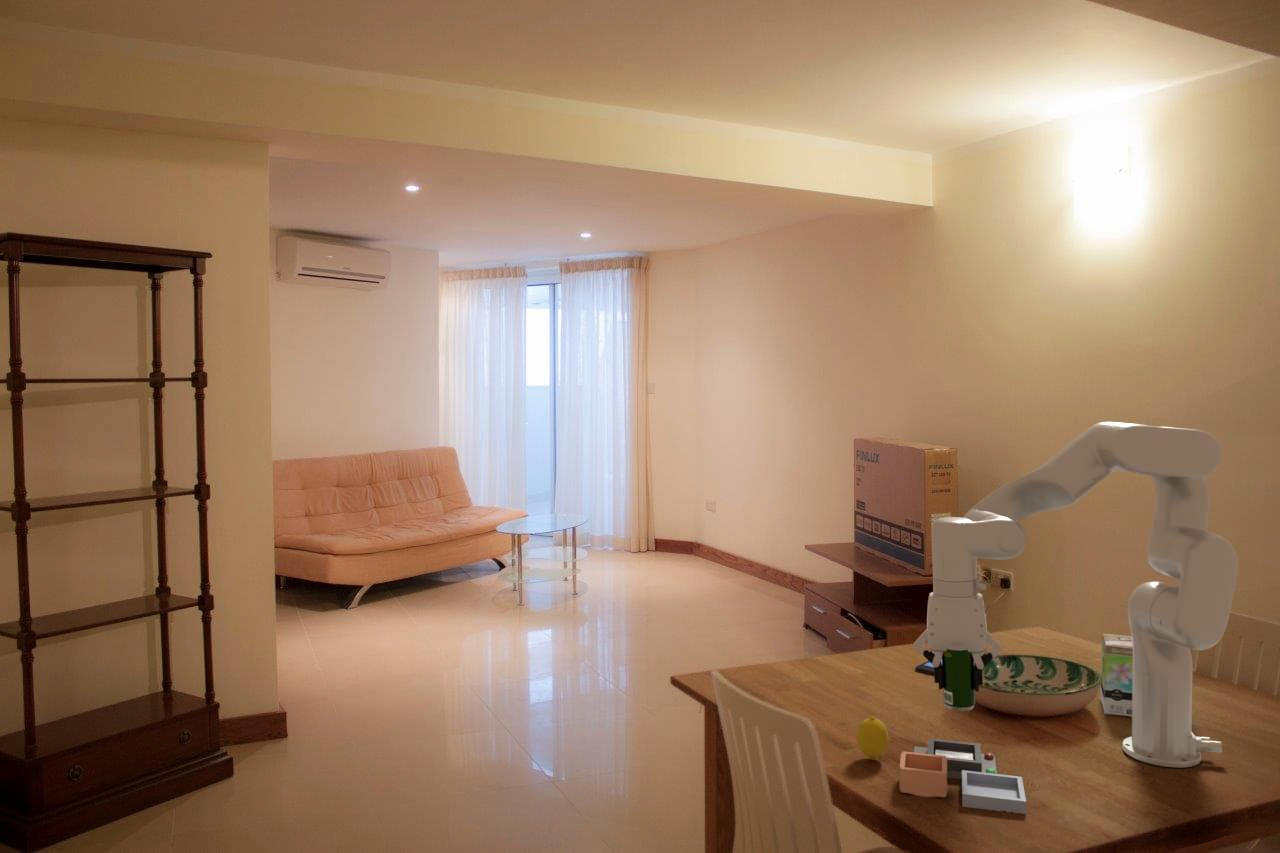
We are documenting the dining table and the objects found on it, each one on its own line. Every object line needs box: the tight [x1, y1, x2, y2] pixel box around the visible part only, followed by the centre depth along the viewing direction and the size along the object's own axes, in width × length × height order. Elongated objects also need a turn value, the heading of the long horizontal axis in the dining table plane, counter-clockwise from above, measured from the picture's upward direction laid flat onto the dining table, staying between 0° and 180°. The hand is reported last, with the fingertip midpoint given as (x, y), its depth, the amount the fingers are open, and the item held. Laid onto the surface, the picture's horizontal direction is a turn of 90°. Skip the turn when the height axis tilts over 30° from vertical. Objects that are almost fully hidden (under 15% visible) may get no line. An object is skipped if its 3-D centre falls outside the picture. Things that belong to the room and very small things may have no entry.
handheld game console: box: [915, 658, 942, 676], centre depth 222 cm, size 12×11×7 cm
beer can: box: [942, 644, 976, 712], centre depth 166 cm, size 5×5×12 cm
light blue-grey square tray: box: [961, 770, 1027, 815], centre depth 155 cm, size 10×10×2 cm
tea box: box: [1099, 633, 1133, 718], centre depth 192 cm, size 15×10×15 cm
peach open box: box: [898, 750, 949, 798], centre depth 159 cm, size 8×8×4 cm
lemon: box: [856, 716, 889, 761], centre depth 170 cm, size 6×6×8 cm
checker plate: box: [935, 748, 973, 760], centre depth 167 cm, size 6×6×1 cm
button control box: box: [913, 738, 998, 780], centre depth 167 cm, size 14×10×3 cm
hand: (958, 686), depth 166 cm, fingers closed on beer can, 5 cm apart
